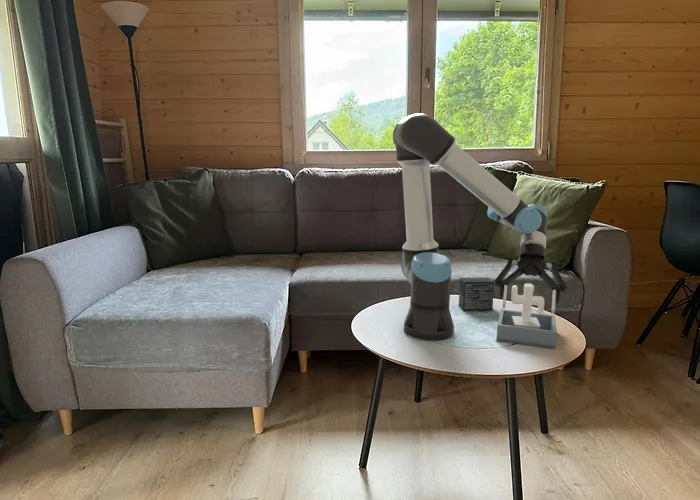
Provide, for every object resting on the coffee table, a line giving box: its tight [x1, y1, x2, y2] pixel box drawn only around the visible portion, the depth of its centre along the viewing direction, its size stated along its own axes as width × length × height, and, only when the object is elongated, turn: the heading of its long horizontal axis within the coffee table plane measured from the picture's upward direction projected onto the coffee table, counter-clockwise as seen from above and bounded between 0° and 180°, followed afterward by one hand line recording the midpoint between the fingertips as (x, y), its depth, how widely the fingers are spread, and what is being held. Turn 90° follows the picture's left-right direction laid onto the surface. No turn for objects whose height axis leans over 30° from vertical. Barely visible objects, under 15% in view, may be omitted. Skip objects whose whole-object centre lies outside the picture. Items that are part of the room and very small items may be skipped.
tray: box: [495, 308, 558, 350], centre depth 150 cm, size 16×15×5 cm
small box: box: [458, 276, 495, 312], centre depth 174 cm, size 11×6×10 cm, turn 94°
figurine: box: [510, 282, 545, 329], centre depth 149 cm, size 7×9×15 cm
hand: (528, 309), depth 146 cm, fingers open, 13 cm apart
